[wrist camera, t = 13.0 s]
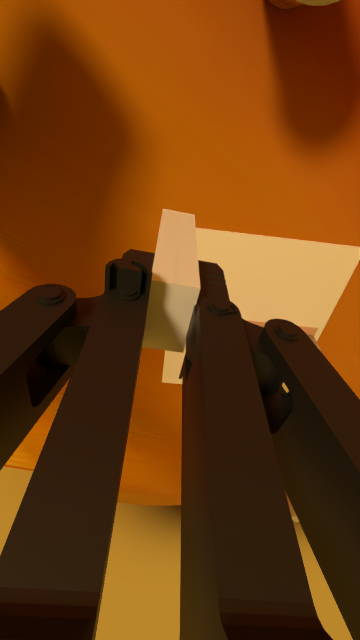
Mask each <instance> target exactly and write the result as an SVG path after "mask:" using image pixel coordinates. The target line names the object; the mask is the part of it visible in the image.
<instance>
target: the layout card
mask: <svg viewBox="0 0 360 640" xmlns="http://www.w3.org/2000/svg"><path fill="white" fill-rule="evenodd" d="M196 240H197V252H198V260H200V261H206V262H211V263H217V264H218V265H219V266H220V267H221V269H222V270H223V272H224V276H225V281H226V285H227V290H228V294H229V299H230V301H231V302H233V303H234V304H235V305H236V306H237V307H238V309H239V310H240V313H241V317H242V318H243V319H244V320H246V321H248V322H251V323H253V324H256V325H259V326H261V327H264V325H265V323H266V322H267V321H268V320H270V319H276V318H277V319H284V320H288V321H290V322H293V323H294V324H295V325H297V326H299V327H300V328H301V329H302V330H303V331H304V332H305V333H306V334H307V335H313V336H314V338H315V340H316V342H317V340H318V339H319V337H320V335H321V333H322V331H323V329H324V327H325V325H326V323H327V321H328V319H329V317H330V316H331V314H332V312H333V310H334V308H335V306H336V304H337V302H338V300H339V298H340V296H341V295H342V293H343V291H344V289H345V287H346V285H347V283H348V281H349V279H350V277H351V275H352V273H353V272H354V270H355V268H356V266H357V264H358V262H359V260H360V247H356V246H348V245H339V244H331V243H322V242H314V241H305V240H297V239H288V238H280V237H271V236H263V235H254V234H246V233H237V232H229V231H220V230H212V229H203V228H196ZM185 353H186V344H185V347H184V351H183V353H181V352H174V351H167V350H165V357H164V367H163V376H162V382H165V383H176V384H182V379H178V378H179V375H180V371H181V368H182V364H183V360H184V357H185ZM282 386H283V388H284V390H285V391H286V392H287V393H288V392H289V390H288V388H287V387H286V385H285V383H283V384H282Z"/></svg>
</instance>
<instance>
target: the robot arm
mask: <svg viewBox="0 0 360 640" xmlns="http://www.w3.org/2000/svg"><path fill="white" fill-rule="evenodd" d="M185 344H186V353H185V357H184V360H183V364H182V368H181V371H180V375H179V378H178V379H182V478H181V584H180V585H181V586H180V589H181V590H180V640H333V639H332V638H331V637H330V636H329V635H328V633H327V632H326V631H325V630H324V628H323V626H322V625H321V622H320V621H319V619H318V616H317V613H316V610H315V607H314V604H313V600H312V596H311V592H310V588H309V584H308V580H307V576H306V573H305V568H304V564H303V560H302V556H301V552H300V548H299V544H298V540H297V536H296V532H295V528H294V524H293V520H292V516H291V512H290V508H289V504H288V500H287V496H288V498H289V500H290V502H291V505H292V507H293V509H294V511H295V513H296V516H297V518H298V520H299V522H300V524H301V526H302V529H303V531H304V533H305V535H306V537H307V540H308V542H309V544H310V546H311V548H312V550H313V553H314V555H315V557H316V559H317V561H318V564H319V566H320V568H321V570H322V573H323V575H324V577H325V579H326V581H327V584H328V586H329V588H330V590H331V592H332V594H333V597H334V599H335V601H336V603H337V605H338V608H339V610H340V612H341V614H342V616H343V619H344V621H345V623H346V625H347V627H348V630H349V631H350V634H351V636H352V638H353V640H360V400H359V398H358V397H357V396H356V395H355V393H354V392H353V391H352V390H351V388H350V387H349V386H348V385H347V383H346V382H345V381H344V380H343V379H342V377H341V376H340V375H339V374H338V372H337V371H336V370H335V369H334V367H333V366H332V365H331V364H330V362H329V361H328V360H327V359H326V357H325V356H324V355H323V354H322V353H321V351H320V350H319V349H318V348H317V346H316V345H315V344H314V343H313V341H312V340H311V339H310V338H309V336H308V335H307V334H306V333H305V332H304V331H303V330H302V329H301V328H300V327H299V326H297V325H295V324H294V323H293V322H290V321H288V320H284V319H277V318H276V319H270V320H268V321H267V322H266V323H265V325H264V327H261V326H259V325H256V324H253V323H251V322H248V321H246V320H244V319H243V318H242V317H241V313H240V310H239V309H238V307H237V306H236V305H235V304H234V303H233V302H231V301H230V299H229V294H228V290H227V285H226V281H225V276H224V272H223V270H222V269H221V267H220V266H219V265H218V264H217V263H211V262H206V261H200V260H198V252H197V240H196V228H195V216H194V215H193V214H188V213H183V212H178V211H173V210H168V209H163V212H162V218H161V223H160V229H159V234H158V240H157V246H156V251H155V253H150V252H144V251H138V250H133V249H130V250H129V251H127V252H126V253H124V254H123V257H122V259H115V260H112V261H110V262H109V263H108V264H107V265H106V268H105V291H104V294H103V295H101V296H97V297H92V298H76V294H75V292H74V291H73V290H72V289H70V288H68V287H66V286H63V285H58V284H44V285H40V286H36V287H34V288H32V289H30V290H28V291H27V292H26V293H24V294H23V295H22V296H20V297H19V298H17V299H16V300H15V301H13V302H12V303H11V304H9V305H8V306H7V307H5V308H4V309H3V310H1V311H0V470H1V469H2V467H3V466H4V465H5V463H6V462H7V461H8V459H9V458H10V457H11V455H12V454H13V453H14V451H15V450H16V449H17V447H18V446H19V445H20V443H21V442H22V441H23V439H24V438H25V437H26V435H27V434H28V433H29V431H30V430H31V429H32V427H33V426H34V425H35V423H36V422H37V421H38V419H39V418H40V417H41V415H42V414H43V413H44V411H45V410H46V409H47V407H48V406H49V405H50V403H51V402H52V401H53V399H54V398H55V397H56V395H57V394H58V393H59V391H60V390H61V389H62V387H63V386H64V385H65V383H66V382H67V381H68V379H69V378H70V380H69V383H68V385H67V388H66V390H65V393H64V395H63V398H62V400H61V403H60V405H59V408H58V410H57V413H56V416H55V418H54V421H53V423H52V426H51V428H50V431H49V433H48V436H47V438H46V441H45V444H44V446H43V449H42V451H41V454H40V456H39V459H38V461H37V464H36V466H35V469H34V472H33V474H32V477H31V479H30V482H29V484H28V487H27V490H26V492H25V495H24V497H23V499H22V502H21V505H20V507H19V510H18V512H17V515H16V518H15V520H14V523H13V525H12V527H11V530H10V533H9V535H8V538H7V540H6V543H5V545H4V548H3V551H2V553H1V555H0V640H95V636H96V630H97V624H98V617H99V611H100V604H101V599H102V592H103V586H104V579H105V574H106V568H107V561H108V555H109V549H110V542H111V536H112V530H113V524H114V517H115V511H116V505H117V499H118V493H119V487H120V480H121V474H122V468H123V462H124V456H125V449H126V443H127V437H128V431H129V424H130V418H131V412H132V406H133V400H134V393H135V387H136V381H137V375H138V368H139V362H140V356H141V349H142V347H146V348H153V349H160V350H167V351H174V352H181V353H183V351H184V347H185ZM283 383H285V385H286V387H287V388H288V390H289V392H288V393H287V392H286V391H285V390H284V388H283V386H282V384H283ZM285 491H286V492H285ZM286 494H287V496H286Z"/></svg>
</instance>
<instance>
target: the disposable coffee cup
mask: <svg viewBox="0 0 360 640" xmlns="http://www.w3.org/2000/svg"><path fill="white" fill-rule="evenodd" d="M268 1H269V2H270V3H271V4H272V5H273V6H275V7H277V8H280V9H291V8H294V7H298V6H302V5H305V4H306V5H311V6H321V5H328V4H331V3H334V2H338V1H340V0H268Z"/></svg>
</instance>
